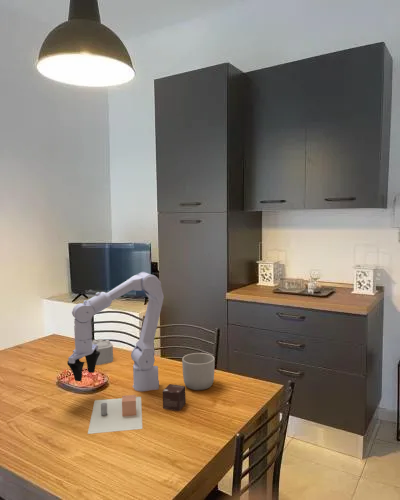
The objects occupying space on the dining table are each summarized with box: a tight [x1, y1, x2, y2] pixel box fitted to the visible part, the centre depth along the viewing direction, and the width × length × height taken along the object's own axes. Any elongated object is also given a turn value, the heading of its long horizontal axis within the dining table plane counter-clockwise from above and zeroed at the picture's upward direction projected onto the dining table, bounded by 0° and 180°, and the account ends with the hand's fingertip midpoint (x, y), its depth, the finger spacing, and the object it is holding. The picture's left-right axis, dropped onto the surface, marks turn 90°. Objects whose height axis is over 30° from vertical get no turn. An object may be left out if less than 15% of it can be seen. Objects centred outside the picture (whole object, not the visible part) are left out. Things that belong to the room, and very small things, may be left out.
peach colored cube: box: [121, 394, 137, 416], centre depth 131 cm, size 4×4×5 cm
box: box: [162, 383, 187, 412], centre depth 135 cm, size 6×6×7 cm
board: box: [87, 396, 143, 435], centre depth 131 cm, size 16×22×5 cm
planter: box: [181, 352, 216, 391], centre depth 154 cm, size 12×12×11 cm
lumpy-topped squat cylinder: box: [92, 338, 114, 366], centre depth 184 cm, size 10×13×9 cm
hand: (84, 376), depth 141 cm, fingers open, 7 cm apart
